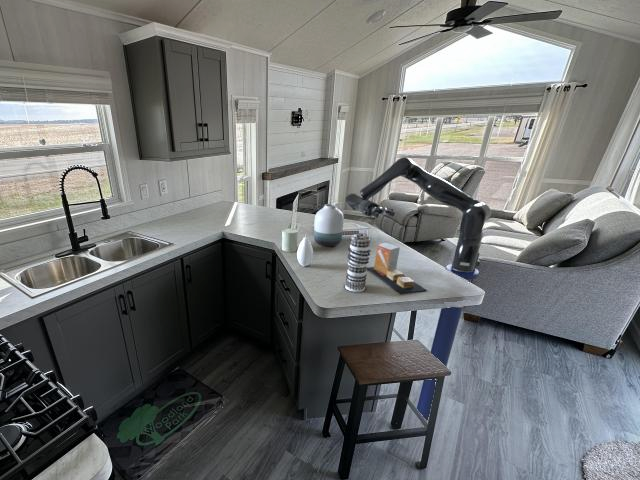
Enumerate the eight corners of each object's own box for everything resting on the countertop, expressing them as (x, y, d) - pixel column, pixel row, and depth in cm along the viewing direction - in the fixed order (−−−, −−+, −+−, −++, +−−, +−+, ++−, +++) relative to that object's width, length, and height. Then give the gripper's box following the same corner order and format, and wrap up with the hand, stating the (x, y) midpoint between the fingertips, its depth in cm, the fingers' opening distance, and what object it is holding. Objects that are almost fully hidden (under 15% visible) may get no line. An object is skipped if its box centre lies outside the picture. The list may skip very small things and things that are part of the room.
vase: (337, 250, 191) (340, 209, 182) (309, 245, 199) (311, 206, 190) (344, 241, 204) (348, 203, 195) (318, 237, 213) (320, 201, 203)
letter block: (406, 282, 149) (407, 276, 148) (413, 287, 145) (414, 281, 144) (396, 283, 149) (397, 277, 147) (403, 288, 144) (404, 282, 143)
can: (299, 247, 197) (299, 228, 192) (294, 252, 190) (295, 232, 185) (284, 245, 201) (284, 227, 196) (279, 250, 193) (279, 231, 188)
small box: (373, 269, 163) (376, 244, 158) (382, 266, 166) (386, 242, 161) (386, 275, 157) (391, 249, 151) (396, 272, 159) (400, 247, 154)
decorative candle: (345, 291, 144) (351, 237, 134) (343, 282, 152) (348, 231, 142) (367, 293, 142) (374, 238, 132) (363, 283, 151) (370, 231, 141)
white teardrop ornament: (293, 265, 172) (294, 233, 165) (303, 261, 177) (305, 229, 170) (305, 270, 167) (307, 236, 160) (315, 265, 171) (317, 232, 164)
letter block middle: (396, 275, 157) (397, 269, 155) (402, 279, 152) (403, 273, 151) (386, 276, 156) (387, 270, 155) (392, 280, 151) (393, 274, 150)
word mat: (388, 266, 168) (388, 265, 167) (425, 290, 142) (426, 289, 142) (366, 268, 166) (367, 267, 166) (400, 294, 141) (401, 292, 140)
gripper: (357, 202, 175) (373, 208, 161) (381, 200, 178) (400, 206, 163) (355, 215, 178) (371, 223, 164) (379, 213, 181) (397, 221, 166)
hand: (385, 214), depth 163 cm, fingers open, 8 cm apart
